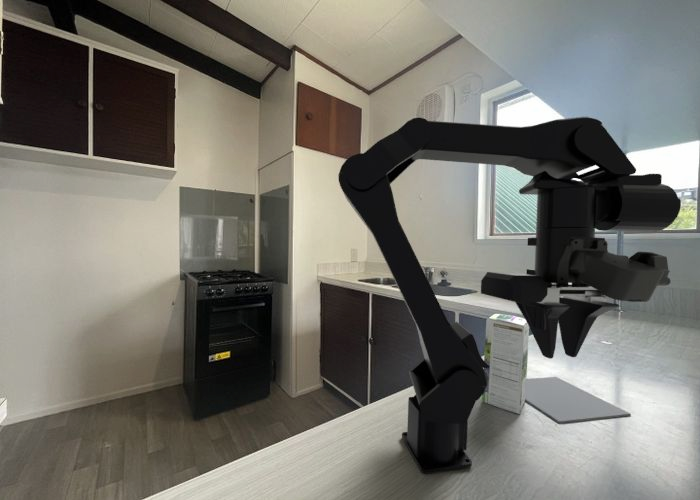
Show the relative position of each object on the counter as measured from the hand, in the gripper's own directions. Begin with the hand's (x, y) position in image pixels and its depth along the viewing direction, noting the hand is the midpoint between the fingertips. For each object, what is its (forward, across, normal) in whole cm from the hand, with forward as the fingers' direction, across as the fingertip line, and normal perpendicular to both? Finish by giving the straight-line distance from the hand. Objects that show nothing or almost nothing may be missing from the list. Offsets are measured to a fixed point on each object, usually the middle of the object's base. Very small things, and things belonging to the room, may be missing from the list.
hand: (559, 356), depth 34 cm
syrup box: (+13, +4, +13) cm, 19 cm away
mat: (+13, +15, +13) cm, 24 cm away
